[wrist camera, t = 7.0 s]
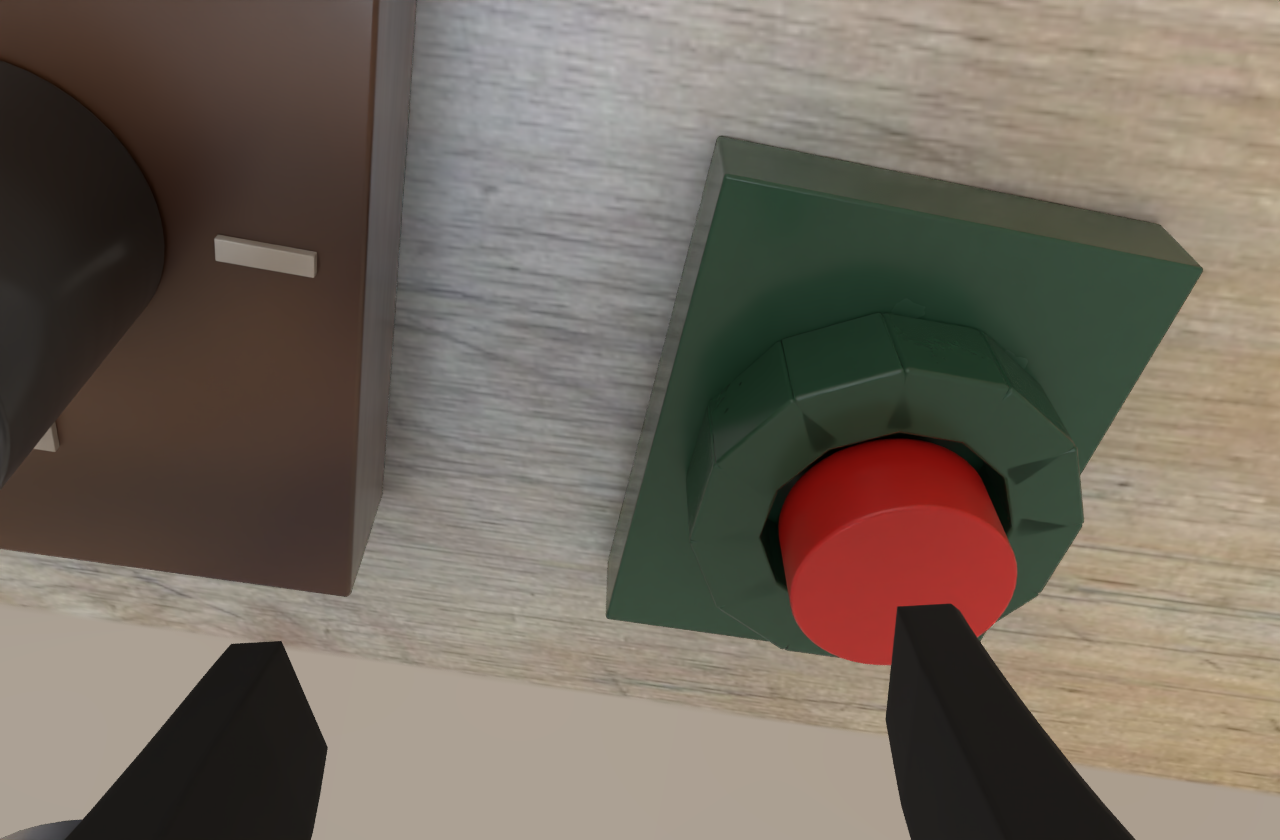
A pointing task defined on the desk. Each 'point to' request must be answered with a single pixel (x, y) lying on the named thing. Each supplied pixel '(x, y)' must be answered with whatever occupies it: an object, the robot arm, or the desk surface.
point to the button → (891, 545)
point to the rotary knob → (64, 254)
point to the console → (233, 287)
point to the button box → (875, 368)
